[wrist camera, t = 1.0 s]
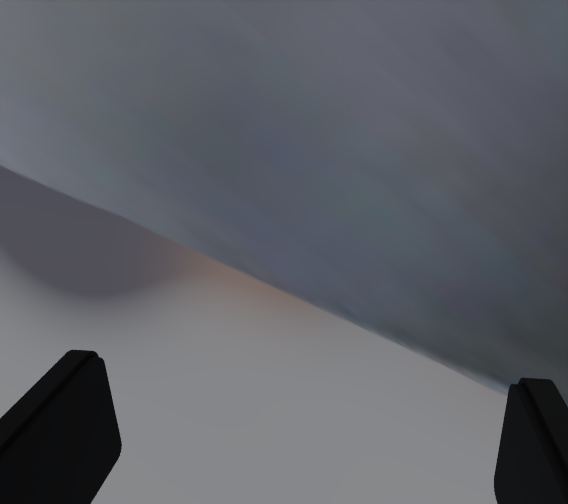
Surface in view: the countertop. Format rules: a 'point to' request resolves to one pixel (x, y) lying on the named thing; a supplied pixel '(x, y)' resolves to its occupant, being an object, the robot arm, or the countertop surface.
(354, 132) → the countertop surface
